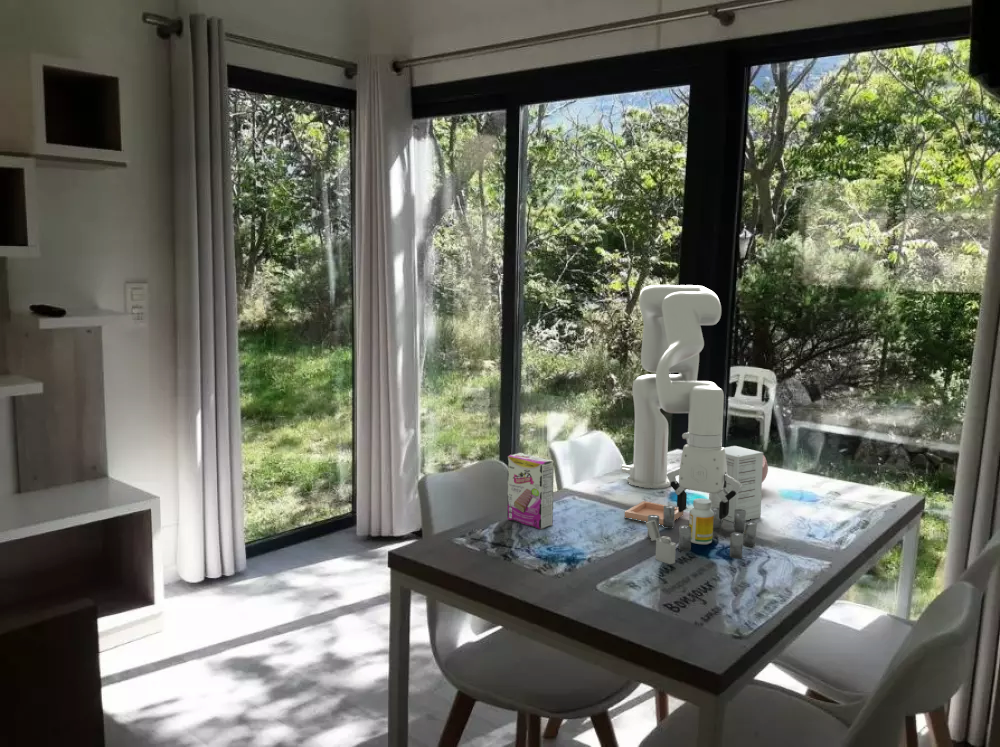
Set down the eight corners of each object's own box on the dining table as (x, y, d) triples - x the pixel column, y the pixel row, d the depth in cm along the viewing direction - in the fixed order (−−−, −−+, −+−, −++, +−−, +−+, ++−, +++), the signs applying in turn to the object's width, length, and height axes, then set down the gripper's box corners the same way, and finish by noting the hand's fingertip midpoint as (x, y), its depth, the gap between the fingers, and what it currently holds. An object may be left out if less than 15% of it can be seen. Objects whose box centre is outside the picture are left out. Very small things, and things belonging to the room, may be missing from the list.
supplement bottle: (683, 540, 190) (685, 500, 189) (698, 535, 193) (699, 495, 192) (702, 546, 186) (704, 505, 184) (717, 541, 189) (719, 501, 188)
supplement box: (761, 518, 207) (765, 452, 204) (735, 523, 202) (738, 456, 199) (733, 507, 215) (736, 444, 212) (707, 513, 210) (709, 448, 208)
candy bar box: (506, 520, 204) (506, 455, 201) (519, 515, 207) (520, 452, 205) (540, 530, 196) (541, 463, 194) (553, 525, 200) (554, 459, 197)
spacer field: (639, 541, 189) (640, 520, 188) (677, 517, 207) (677, 497, 206) (736, 562, 176) (737, 539, 176) (767, 534, 194) (768, 514, 193)
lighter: (675, 562, 176) (676, 526, 175) (670, 564, 175) (671, 528, 174) (649, 553, 181) (650, 518, 180) (644, 555, 180) (645, 520, 179)
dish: (624, 518, 205) (624, 511, 205) (643, 507, 214) (643, 501, 214) (665, 527, 199) (666, 519, 199) (683, 515, 208) (683, 508, 208)
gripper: (662, 438, 188) (660, 511, 190) (737, 448, 178) (733, 525, 180) (675, 433, 194) (673, 504, 196) (748, 442, 184) (745, 516, 186)
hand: (702, 514), depth 188 cm, fingers open, 9 cm apart
